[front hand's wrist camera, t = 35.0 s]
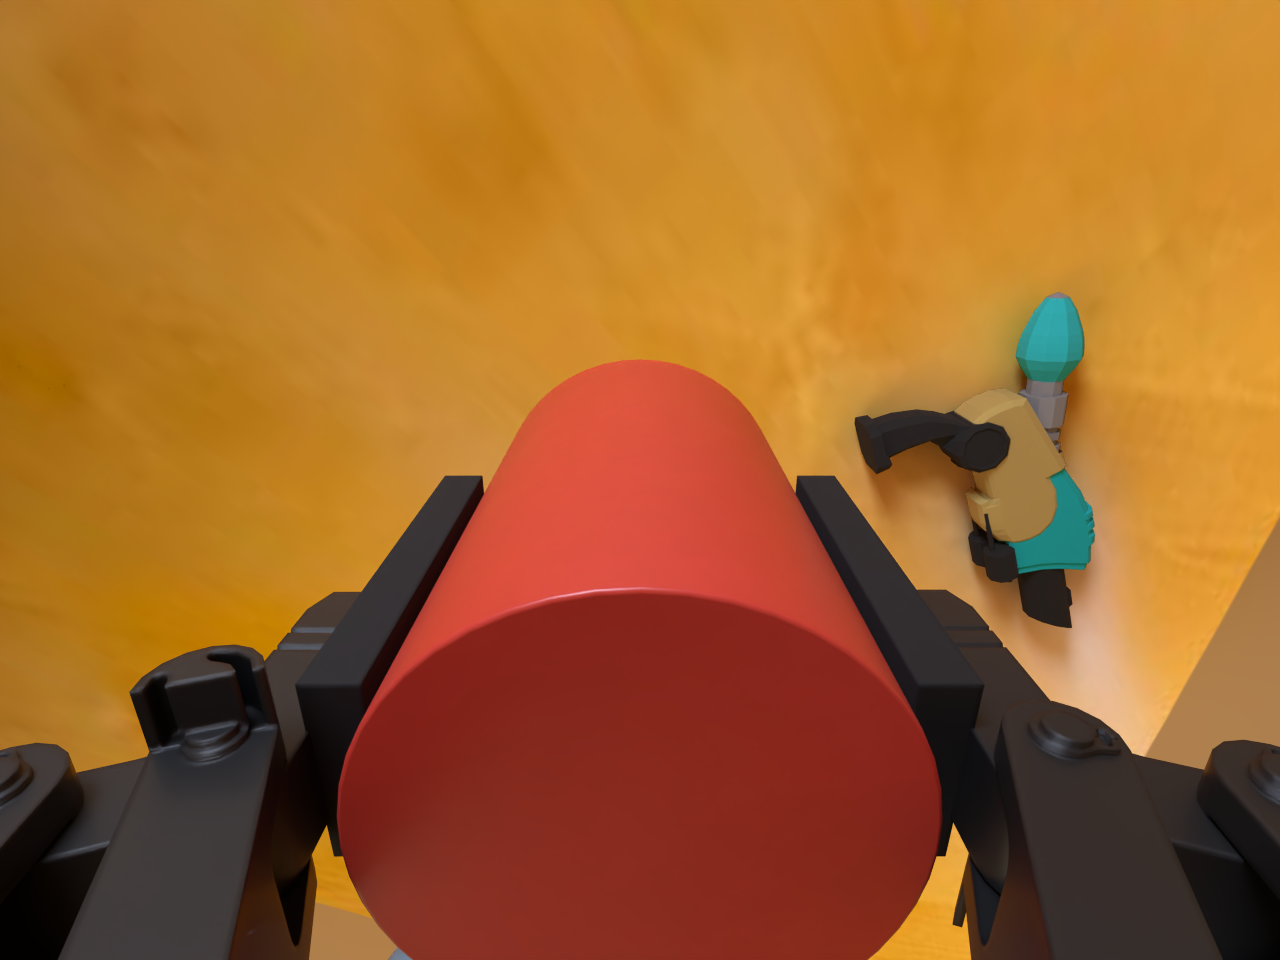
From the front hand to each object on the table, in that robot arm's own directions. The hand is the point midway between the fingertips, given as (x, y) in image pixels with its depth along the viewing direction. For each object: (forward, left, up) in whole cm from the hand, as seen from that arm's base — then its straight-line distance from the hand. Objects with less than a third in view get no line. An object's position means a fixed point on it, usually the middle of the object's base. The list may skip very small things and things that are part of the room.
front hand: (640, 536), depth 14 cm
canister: (0, 0, -2) cm, 2 cm away
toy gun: (-27, -10, -35) cm, 45 cm away
